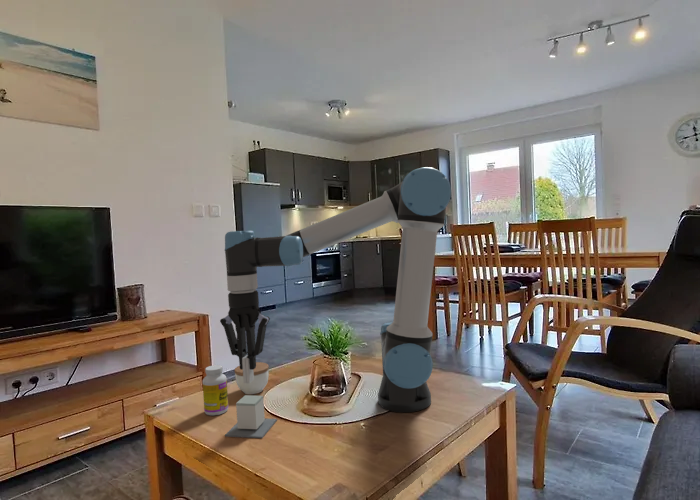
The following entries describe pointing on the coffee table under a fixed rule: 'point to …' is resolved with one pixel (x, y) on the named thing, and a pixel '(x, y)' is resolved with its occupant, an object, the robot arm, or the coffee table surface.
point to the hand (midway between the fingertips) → (248, 381)
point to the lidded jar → (259, 379)
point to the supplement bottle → (215, 391)
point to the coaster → (252, 430)
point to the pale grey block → (250, 412)
